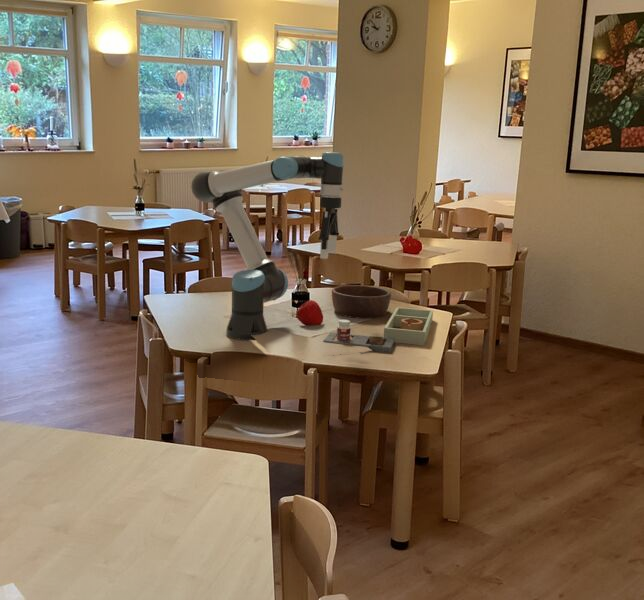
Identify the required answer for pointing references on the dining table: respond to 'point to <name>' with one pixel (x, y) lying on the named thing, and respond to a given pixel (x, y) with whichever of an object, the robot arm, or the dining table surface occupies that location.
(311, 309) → the red rounded tapered piece
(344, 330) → the pill bottle
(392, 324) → the parts crate
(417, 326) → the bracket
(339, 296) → the wooden bowl
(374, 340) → the walnut block
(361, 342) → the grey slotted plate
